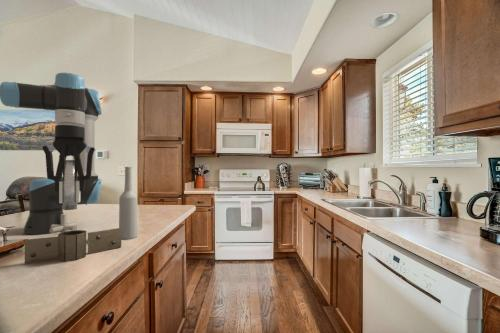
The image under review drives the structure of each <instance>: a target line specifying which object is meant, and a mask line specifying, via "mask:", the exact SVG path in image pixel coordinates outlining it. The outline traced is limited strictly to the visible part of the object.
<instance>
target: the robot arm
mask: <svg viewBox="0 0 500 333" xmlns="http://www.w3.org/2000/svg"><path fill="white" fill-rule="evenodd" d="M54 78H55V79H54V80H55V81H54V84H40V85H37V84H31V83H30V84H28V83H22V82H21V83H19V82H16V81H13V82H12V81H2V82H1V83H0V102H1V104H2V105H3V106H5V107H9V108H11V107H12V108H16V109H17V108H18V109H20V108H21V109H31V110H32V109H33V110H44V111H45V110H46V111H54V123H55V124H56V125H55V126H54V140H53V142H52V144H50V145H44V146H42V150H43V152H44V154H45V167H46V178H37V179H33V180H31V181H30V182H29V190H28V192H29V193H28V195H29V197H28V198H29V199H28V200H29V201H28V202H29V203H28V204H29V205H28V207H29V211H28V212H29V213H28V214H29V215H28V216H27V219H26V222H25V225H24V227H23V234H24V235H43V234H46V235H47V234H51V233H50V232H49V229H50V227H51V225H53V224H54V225H61V214H65V213H64V210H63V162H64V160H67V157H72V160H75V163H76V167H77V181H76V203H77V206H80V205H81V206H82V205H86V206H87V205H93V204H97V203H98V202H99V200H100V193H101V188H102V187H101V186H102V179H101V178H99V175H98V173H97V172H96V171H95V151H96V148H95V130H96V129H95V127H96V126H95V122H96V121H97V120H99V116H100V115H102V114H103V113H102V106H101V100H100V93H99V91H98V90H97V89H93V88H88V87H86V86H85V85H86V84H85V78H84V77H83V76H82V75H79V74H75V73H71V72H70V73H69V72H58V73H56V74H55V77H54ZM54 148H55V150H56V151H57V152H58V153H59V157H58V162H57V167H56V171H54V157H53V152H54Z"/></svg>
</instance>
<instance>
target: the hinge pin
mask: <svg viewBox="0 0 500 333" xmlns="http://www.w3.org/2000/svg"><path fill="white" fill-rule="evenodd" d="M62 177H63V211H73V210H77V209H78V205H77V203H76V181H77V167H76V163H75V160H73V159H66V160H64V162H63V174H62Z"/></svg>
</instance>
